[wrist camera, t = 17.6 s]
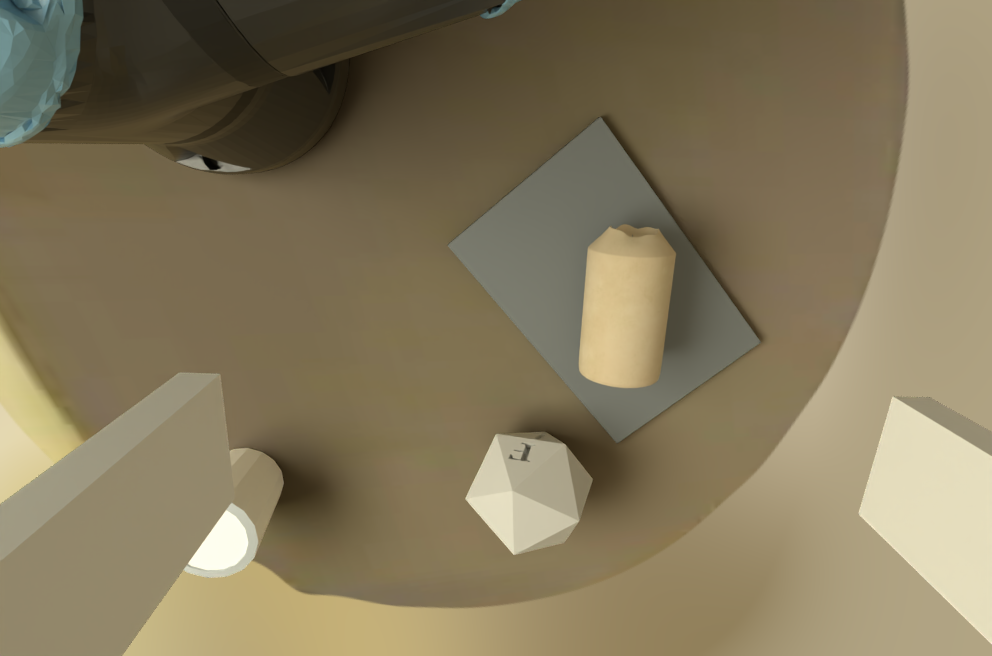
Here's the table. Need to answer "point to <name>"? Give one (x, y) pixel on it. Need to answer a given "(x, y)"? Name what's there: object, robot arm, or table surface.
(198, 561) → the shot glass
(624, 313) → the candle
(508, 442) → the die
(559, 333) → the mat
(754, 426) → the table surface
